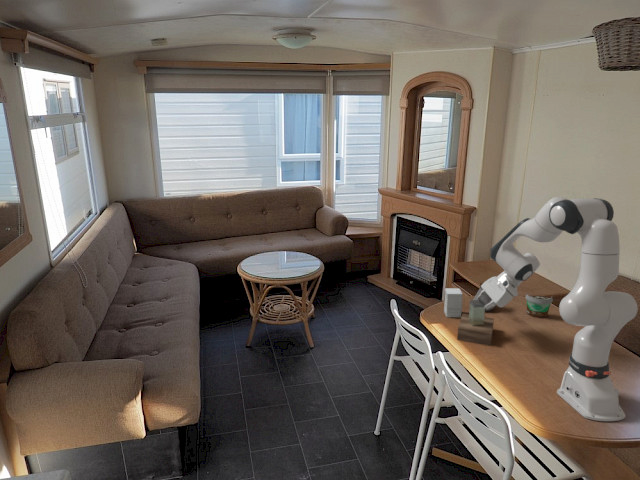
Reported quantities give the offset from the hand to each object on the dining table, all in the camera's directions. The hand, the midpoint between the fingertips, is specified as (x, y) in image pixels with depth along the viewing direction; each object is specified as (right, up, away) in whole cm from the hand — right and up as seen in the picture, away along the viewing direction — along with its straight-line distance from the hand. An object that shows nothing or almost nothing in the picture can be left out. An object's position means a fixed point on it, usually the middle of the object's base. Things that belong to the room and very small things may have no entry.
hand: (481, 303), depth 207 cm
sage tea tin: (-2, -9, +3) cm, 10 cm away
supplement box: (-6, -9, +25) cm, 27 cm away
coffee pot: (+12, -8, +27) cm, 30 cm away
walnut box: (-1, -15, +5) cm, 16 cm away
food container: (+35, -9, +21) cm, 42 cm away
